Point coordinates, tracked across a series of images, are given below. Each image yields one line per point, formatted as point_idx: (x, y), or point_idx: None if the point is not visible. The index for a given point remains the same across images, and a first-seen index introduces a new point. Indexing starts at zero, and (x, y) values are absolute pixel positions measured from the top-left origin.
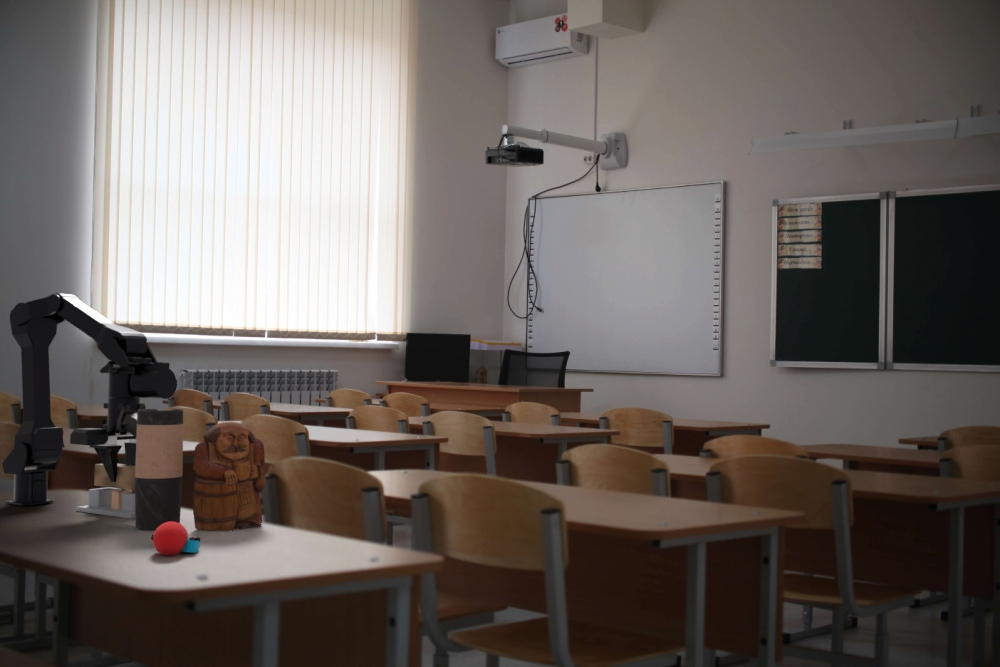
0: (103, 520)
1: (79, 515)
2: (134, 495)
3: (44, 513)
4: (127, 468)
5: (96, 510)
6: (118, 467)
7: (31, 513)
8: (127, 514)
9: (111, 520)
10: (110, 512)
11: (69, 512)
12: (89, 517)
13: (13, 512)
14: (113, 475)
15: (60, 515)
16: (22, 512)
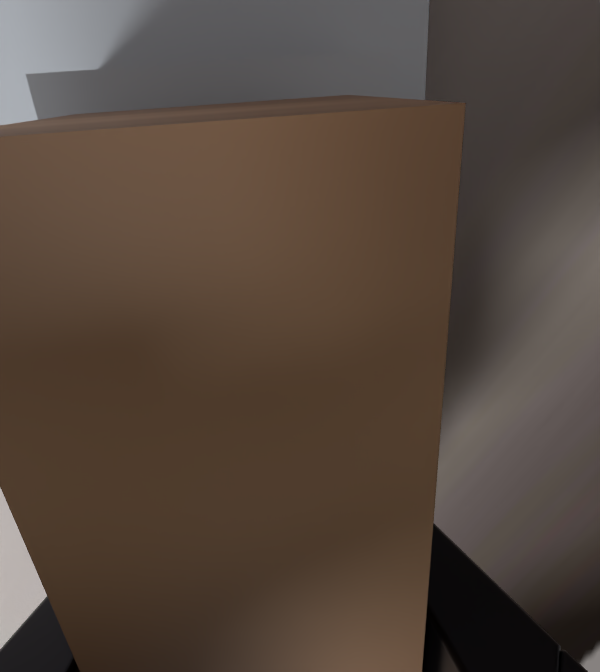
0: (593, 74)
1: (499, 403)
2: (363, 55)
3: (537, 563)
4: (431, 404)
5: None
6: (419, 610)
7: (566, 592)
8: (427, 16)
9: (565, 18)
10: None
11: (448, 525)
12: (529, 290)
13: (578, 648)
14: (436, 526)
15: (551, 466)
16: (561, 632)
